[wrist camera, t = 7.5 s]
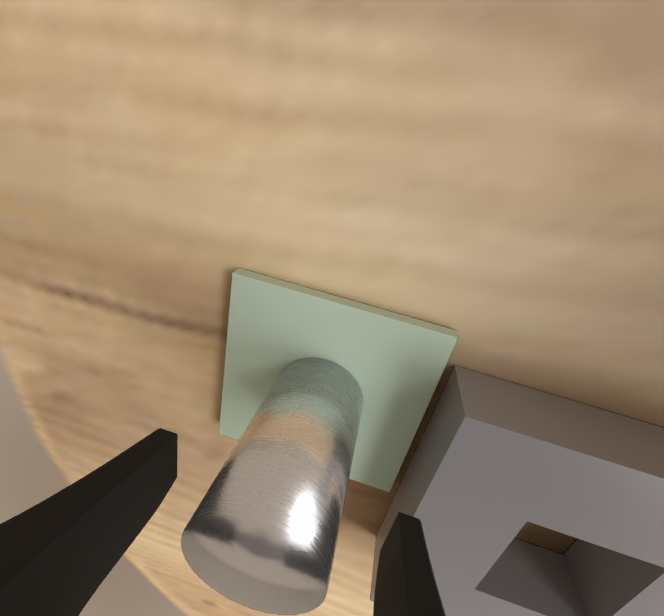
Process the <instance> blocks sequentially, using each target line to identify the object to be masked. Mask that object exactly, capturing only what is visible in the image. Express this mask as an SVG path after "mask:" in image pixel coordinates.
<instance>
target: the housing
mask: <svg viewBox="0 0 664 616" xmlns="http://www.w3.org/2000/svg"><path fill="white" fill-rule="evenodd" d="M398 512H401V513H404V514H407V515H410V516H413V517H416V518H418V519H420V521H421V523H422V527H423V532H424V537H425V541H426V545H427V550H428V554H429V558H430V562H431V565H432V569H433V573H434V577H435V580H436V584H437V587H438V591H439V595H440V598H441V601H442V604H443V608H444V611H445V614H446V616H664V428H663V427H660V426H656V425H653V424H650V423H646V422H643V421H639V420H636V419H633V418H629V417H626V416H623V415H619V414H616V413H613V412H609V411H606V410H603V409H599V408H596V407H593V406H589V405H586V404H582V403H579V402H576V401H572V400H569V399H566V398H562V397H559V396H556V395H552V394H549V393H546V392H542V391H539V390H536V389H532V388H529V387H525V386H522V385H519V384H515V383H512V382H509V381H505V380H502V379H499V378H495V377H492V376H489V375H485V374H482V373H479V372H475V371H472V370H468V369H465V368H462V367H458V366H454V368H453V370H452V373H451V375H450V377H449V379H448V381H447V384H446V386H445V388H444V390H443V392H442V394H441V397H440V399H439V401H438V403H437V405H436V407H435V410H434V412H433V414H432V416H431V418H430V421H429V423H428V425H427V427H426V429H425V431H424V434H423V436H422V438H421V440H420V442H419V445H418V447H417V449H416V451H415V453H414V455H413V458H412V460H411V462H410V464H409V466H408V468H407V471H406V473H405V475H404V477H403V479H402V482H401V484H400V486H399V488H398V490H397V492H396V495H395V497H394V499H393V501H392V503H391V506H390V508H389V510H388V512H387V514H386V516H385V519H384V521H383V523H382V525H381V527H380V529H379V532H378V534H377V536H376V542H375V553H374V563H373V573H372V584H371V594H370V600H371V601H374V593H375V584H376V576H377V569H378V562H379V555H380V550H381V548H382V546H383V543H384V541H385V539H386V537H387V535H388V533H389V531H390V529H391V527H392V525H393V523H394V521H395V519H396V517H397V514H398ZM526 522H530V523H533V524H536V525H539V526H542V527H545V528H548V529H551V530H554V531H557V532H560V533H563V534H566V535H569V536H572V537H575V538H578V539H577V540H576V541H575V542H574V543H573V544H572V546H571V547H570V548H569V549H568V550H567V551H566V552H565V553H564V554H563V555H562V554H559V553H556V552H553V551H550V550H548V549H545V548H542V547H539V546H536V545H533V544H530V543H527V542H524V541H522V540H519V539H516V538H514V537H515V536H516V535H517V534H518V532H519V531H520V530H521V528H522V527H523V526H524V525H525V523H526Z"/></svg>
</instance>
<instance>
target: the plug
mask: <svg viewBox="0 0 664 616" xmlns="http://www.w3.org/2000/svg"><path fill="white" fill-rule="evenodd" d="M362 409H363V394H362V390H361V388H360V385H359V384H358V382H357V380H356V379H355V378H354V376H353V375H352V374H351V373H350V372H349V371H347V370H346V369H345V368H343V367H342V366H340V365H339V364H337V363H335V362H332V361H330V360H327V359H323V358H316V357H308V358H301V359H298V360H295V361H293V362H291V363H289V364H288V365H286V366H285V367H284V368H283V369H282V370H281V372H280V373H279V375H278V377H277V378H276V380H275V381H274V383H273V385H272V386H271V388H270V390H269V391H268V393H267V395H266V396H265V398H264V400H263V401H262V403H261V404H260V406H259V408H258V409H257V411H256V413H255V414H254V416H253V418H252V419H251V421H250V423H249V424H248V426H247V427H246V429H245V431H244V432H243V434H242V436H241V437H240V439H239V441H238V442H237V444H236V446H235V447H234V449H233V450H232V452H231V454H230V455H229V457H228V459H227V460H226V462H225V464H224V465H223V467H222V469H221V470H220V472H219V473H218V475H217V477H216V478H215V480H214V482H213V483H212V485H211V487H210V488H209V490H208V491H207V493H206V495H205V496H204V498H203V500H202V501H201V503H200V505H199V506H198V508H197V510H196V511H195V513H194V514H193V516H192V518H191V519H190V521H189V523H188V524H187V526H186V528H185V529H184V531H183V534H182V537H181V548H182V552H183V554H184V557H185V559H186V561H187V562H188V564H189V566H190V567H191V568H192V570H193V571H194V572H195V573H196V574H197V575H198V576H199V578H201V579H202V580H203V581H204V582H205V583H206V584H207V585H209V586H210V587H211V588H212V589H214V590H215V591H217V592H218V593H220V594H221V595H223V596H225V597H226V598H228V599H230V600H232V601H234V602H236V603H238V604H241V605H243V606H246V607H248V608H251V609H254V610H258V611H261V612H266V613H271V614H278V615H296V614H302V613H306V612H309V611H311V610H314V609H315V608H317V607H318V606H319V605H320V604H321V603H322V602H323V601H324V599H325V597H326V594H327V590H328V585H329V579H330V574H331V569H332V564H333V559H334V554H335V548H336V543H337V538H338V533H339V528H340V523H341V517H342V512H343V507H344V502H345V497H346V492H347V486H348V481H349V476H350V471H351V466H352V461H353V455H354V450H355V445H356V440H357V435H358V430H359V424H360V419H361V414H362Z"/></svg>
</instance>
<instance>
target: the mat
mask: <svg viewBox="0 0 664 616" xmlns="http://www.w3.org/2000/svg"><path fill="white" fill-rule="evenodd" d="M457 339H458V335H457V332H456V330H453V329H450V328H446V327H443V326H439V325H436V324H432V323H429V322H425V321H422V320H418V319H415V318H411V317H408V316H404V315H401V314H397V313H394V312H390V311H387V310H384V309H380V308H377V307H373V306H370V305H366V304H363V303H359V302H356V301H352V300H349V299H345V298H342V297H338V296H335V295H331V294H328V293H324V292H321V291H317V290H314V289H310V288H307V287H303V286H300V285H296V284H293V283H290V282H286V281H283V280H279V279H276V278H272V277H269V276H265V275H262V274H258V273H255V272H251V271H248V270H244V269H241V268H239V269H237V270H236V271H234V272H232V284H231V296H230V308H229V319H228V331H227V343H226V355H225V367H224V379H223V391H222V403H221V415H220V427H219V434H221V435H224V436H227V437H230V438H232V439H235V440H238V441H239V439H240V437H241V436H242V434H243V432H244V431H245V429H246V427H247V426H248V424H249V423H250V421H251V419H252V418H253V416H254V414H255V413H256V411H257V409H258V408H259V406H260V404H261V403H262V401H263V400H264V398H265V396H266V395H267V393H268V391H269V390H270V388H271V386H272V385H273V383H274V381H275V380H276V378H277V377H278V375H279V373H280V372H281V370H282V369H283V368H284V367H285V366H286V365H288V364H289V363H291V362H293V361H295V360H298V359H301V358H308V357H316V358H323V359H327V360H330V361H332V362H335V363H337V364H339V365H340V366H342V367H343V368H345V369H346V370H347V371H349V372H350V373H351V374H352V375H353V376H354V378H355V379H356V380H357V382H358V384H359V385H360V388H361V390H362V394H363V409H362V414H361V419H360V424H359V430H358V435H357V440H356V445H355V450H354V455H353V461H352V466H351V471H350V476H349V479H351V480H354V481H357V482H360V483H363V484H366V485H369V486H372V487H375V488H377V489H380V490H383V491H386V492H390V490H391V488H392V485H393V483H394V481H395V479H396V476H397V474H398V472H399V470H400V467H401V465H402V463H403V461H404V458H405V456H406V454H407V452H408V449H409V447H410V445H411V443H412V440H413V438H414V436H415V434H416V431H417V429H418V427H419V425H420V422H421V420H422V418H423V416H424V413H425V411H426V409H427V407H428V404H429V402H430V400H431V398H432V395H433V393H434V391H435V389H436V386H437V384H438V382H439V380H440V377H441V375H442V373H443V371H444V368H445V366H446V364H447V362H448V359H449V357H450V355H451V353H452V350H453V348H454V346H455V344H456V341H457Z"/></svg>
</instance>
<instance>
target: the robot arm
mask: <svg viewBox="0 0 664 616" xmlns="http://www.w3.org/2000/svg"><path fill="white" fill-rule="evenodd" d="M176 478H177V434H175V433H173V432H170V431H167V430H164V429H161V428H160V429H157V430H156V431H154V432H153V433H151V434H150V435H148V436H147V437H145V438H144V439H142V440H141V441H139V442H138V443H136V444H135V445H133V446H132V447H130V448H129V449H127V450H126V451H124V452H123V453H121V454H119V455H118V456H116V457H115V458H113V459H112V460H110V461H109V462H107V463H105V464H104V465H102V466H101V467H99V468H97V469H96V470H94V471H93V472H91V473H89V474H88V475H86V476H85V477H83V478H81V479H80V480H78V481H77V482H75V483H73V484H72V485H70V486H68V487H66V488H65V489H63V490H61V491H59V492H58V493H56V494H54V495H53V496H51V497H50V498H47V499H46V500H44V501H42V502H41V503H39V504H37V505H35V506H33V507H32V508H30V509H28V510H26V511H24V512H22V513H21V514H19V515H17V516H15V517H13V518H11V519H9V520H7V521H6V522H3V523H2V524H0V616H79V614H80V612H81V611H82V609H83V608H84V606H85V605H86V604H87V602H88V601H89V599H90V598H91V597H92V595H93V594H94V592H95V591H96V589H97V588H98V586H99V585H100V584H101V583H102V581H103V580H104V579H105V578H106V576H107V575H108V574H109V572H110V571H111V570H112V568H113V567H114V566H115V564H116V563H117V562H118V560H119V559H120V558H121V557H122V555H123V554H124V553H125V551H126V550H127V549H128V547H129V546H130V545H131V543H132V542H133V541H134V539H135V538H136V537H137V536H138V534H139V533H140V532H141V530H142V529H143V528H144V526H145V525H146V524H147V522H148V521H149V520H150V518H151V517H152V516H153V514H154V513H155V512H156V510H157V509H158V507H159V506H160V504H161V502H162V501H163V499H164V498H165V496H166V494H167V493H168V491H169V489H170V488H171V486H172V484H173V483H174V481H175V479H176ZM373 616H446V614H445V611H444V608H443V604H442V601H441V598H440V595H439V591H438V587H437V584H436V580H435V577H434V573H433V569H432V565H431V562H430V558H429V554H428V550H427V545H426V541H425V537H424V532H423V527H422V523H421V521H420V519H418V518H416V517H413V516H410V515H407V514H404V513H401V512H398V514H397V517H396V519H395V521H394V523H393V525H392V527H391V529H390V531H389V533H388V535H387V537H386V539H385V541H384V543H383V546H382V548H381V550H380V555H379V562H378V569H377V576H376V584H375V593H374V614H373Z"/></svg>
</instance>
